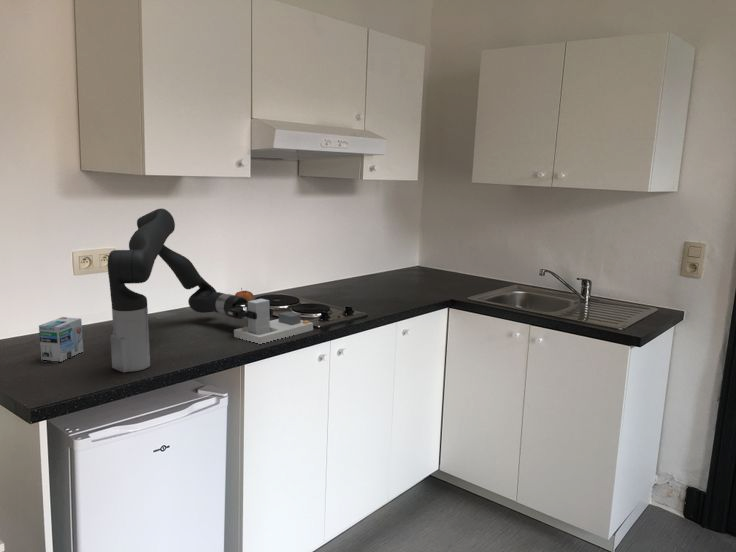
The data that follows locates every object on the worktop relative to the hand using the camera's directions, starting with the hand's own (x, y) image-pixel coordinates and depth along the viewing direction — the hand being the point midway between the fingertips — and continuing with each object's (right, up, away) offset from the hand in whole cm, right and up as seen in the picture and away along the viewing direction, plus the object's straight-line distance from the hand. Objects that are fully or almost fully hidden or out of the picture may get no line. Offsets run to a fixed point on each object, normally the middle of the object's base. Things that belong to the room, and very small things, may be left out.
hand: (264, 314), depth 203 cm
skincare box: (-2, -7, +3) cm, 8 cm away
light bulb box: (-56, -11, -20) cm, 61 cm away
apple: (-15, 0, +42) cm, 45 cm away
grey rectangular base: (+2, -7, +8) cm, 11 cm away
